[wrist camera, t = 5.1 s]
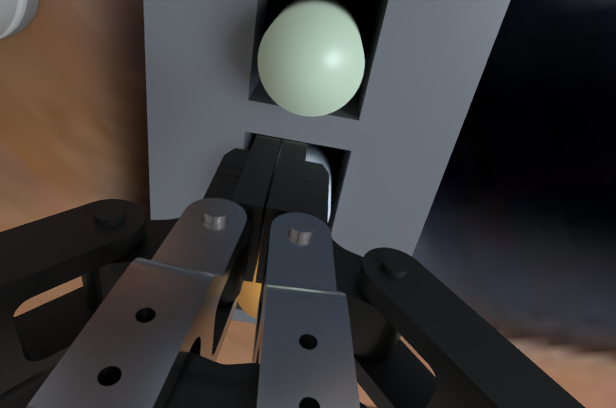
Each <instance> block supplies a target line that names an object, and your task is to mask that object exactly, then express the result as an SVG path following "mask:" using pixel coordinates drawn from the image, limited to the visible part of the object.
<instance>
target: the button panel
mask: <svg viewBox="0 0 616 408" xmlns="http://www.w3.org/2000/svg"><path fill="white" fill-rule="evenodd" d="M509 2H510V0H380V2H379V6H378V10H377V15H376V19H375V23H374V27H373V32H372V36H371V40H370V44H369V49H368V53H367V57H366V61H365V68H364V74H363V78H362V81H361V84H360V87H359V91H358V95H357V99H354V98H351V100H350V101H348V102H347V103H346V104H345V105H344V106H343V107H341V108H340V109H338V110H336V111H334V112H332V113H329V114H326V115H323V116H316V117H308V116H301V115H297V114H294V113H291V112H289V111H287V110H285V109H284V108H282V107H281V106H279V105H278V104H277V103H276V102H275V101H274V100H273V99H272V98H271V97H270V96H269V95H268V93H267V92H266V90H265V88H264V86H263V84H262V82H261V81H259V71H258V51H259V47H260V43H261V41H262V38H263V36H264V27H265V17H266V8H267V0H143V4H144V34H145V64H146V94H147V123H148V153H149V183H150V213H151V220H166V219H175V218H179V217H180V216H181V215H182V213H183V212H184V210H185V209H186V208H187V207H188V206H189V205H190V204H191V203H193V202H195V201H197V200H200V199H203V198H204V195H205V193H206V191H207V189H208V187H209V185H210V183H211V181H212V179H213V177H214V175H215V173H216V171H217V169H218V166H219V164H220V162H221V160H222V158H223V156H224V155H225V154H226V153H228V152H230V151H231V150H233V149H234V148H239V149H244V150H251V147H252V138H253V133H256V134H262V135H267V136H273V137H278V138H284V139H289V140H295V141H300V142H306V143H311V144H317V145H322V146H328V147H333V148H339V149H344V155H343V159H342V163H341V167H340V171H339V176H338V180H337V184H336V188H335V193H334V197H333V201H332V205H331V211H330V217H329V221H328V227H329V229H330V231H331V235H332V239H333V240H334V241H335V242H336V243H337V244H338V245H340V246H341V247H343V248H344V249H346V250H348V251H350V252H352V253H355V254H357V255H360V256H362V257H364V255H365V254H366V253H367V252H368V251H370V250H372V249H375V248H380V247H387V248H393V249H397V250H400V251H402V252H405V253H407V254H408V255H410V256H412V255H413V252H414V249H415V247H416V244H417V242H418V239H419V236H420V234H421V231H422V229H423V226H424V223H425V221H426V218H427V216H428V213H429V210H430V208H431V205H432V203H433V200H434V197H435V195H436V192H437V190H438V187H439V184H440V182H441V179H442V177H443V174H444V171H445V169H446V166H447V164H448V161H449V158H450V156H451V153H452V151H453V148H454V145H455V143H456V140H457V138H458V135H459V132H460V130H461V127H462V125H463V122H464V119H465V117H466V114H467V111H468V109H469V106H470V104H471V101H472V98H473V96H474V93H475V91H476V88H477V85H478V83H479V80H480V78H481V75H482V72H483V70H484V67H485V65H486V62H487V59H488V57H489V54H490V52H491V49H492V46H493V44H494V41H495V39H496V36H497V33H498V31H499V28H500V26H501V23H502V20H503V18H504V15H505V13H506V10H507V7H508V5H509ZM231 320H236V321H242V322H248V323H254V324H256V319H255V318H253V317H251V316H250V315H248V314H247V313H246V312H245V311H244V310H243V309H242V308H241V307H240V306H239V304H238V302H237V305H236V308H235V311H234V314H233V316H232V319H231Z"/></svg>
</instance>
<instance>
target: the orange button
mask: <svg viewBox="0 0 616 408" xmlns="http://www.w3.org/2000/svg"><path fill="white" fill-rule="evenodd" d="M259 254H260V253H259ZM258 260H259V257H258ZM257 267H258V261H257V265H256V270H255V274H254V278H253V282H248V281H243V285H242V288H241V292H240V294H239V295H238V298H237V302H238V304H239V306H240V307H241V308H242V309H243V310H244V311H245V312H246V313H247V314H248V315H250V316H251V317H253V318H255V319H257V310H258V304H259V298H260V291H261V285H262V284H261V283H255V281H256V274H257Z"/></svg>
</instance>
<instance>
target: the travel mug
mask: <svg viewBox="0 0 616 408" xmlns="http://www.w3.org/2000/svg"><path fill="white" fill-rule="evenodd" d="M38 3H39V0H0V39H3V38H6V37H9V36H12V35H15V34H17V33H18V32H20V31H22V30H23V29H24V28H25V27H26V26H27V25H28V24H29V23H30V22H31V21H32V19H33V17H34V15H35V13H36V11H37V7H38Z"/></svg>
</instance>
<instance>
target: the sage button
mask: <svg viewBox="0 0 616 408" xmlns="http://www.w3.org/2000/svg"><path fill="white" fill-rule="evenodd" d="M364 68H365V58H364V51H363V46H362V42H361V37H360V32H359V28H358V26H357V23H356V21H355V19H354V17H353V16H352V14H351V13H350V12H349V11H348V9H347V8H346V7H345V6H343V5H342V4H341V3H339V2H338V1H336V0H295V1H293V2H291V3H290V4H288V5H287V6H286V7H285V8H284V9H283V10H282V11H281V12H280V14H279V15H278V16H277V18H276V19H275V20H274V21H273V23H272V24H271V25H270V27H269V28H268V29H267V31H266V33H265V34H264V36H263V38H262V41H261V43H260V47H259V51H258V71H259V76H260V79H261V82H262V84H263V86H264V88H265V90H266V92H267V93H268V95H269V96H270V97H271V98H272V99H273V100H274V101H275V102H276V103H277V104H278V105H279V106H281V107H282V108H284V109H285V110H287V111H289V112H291V113H294V114H297V115H301V116H308V117H316V116H323V115H326V114H329V113H332V112H334V111H336V110H338V109H340V108H341V107H343V106H344V105H345V104H346V103H347V102H348V101H350V100H351V98H352V97H353V96H354V95H355V93H356V91H357V90H358V88H359V86H360V84H361V81H362V78H363V74H364Z"/></svg>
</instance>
